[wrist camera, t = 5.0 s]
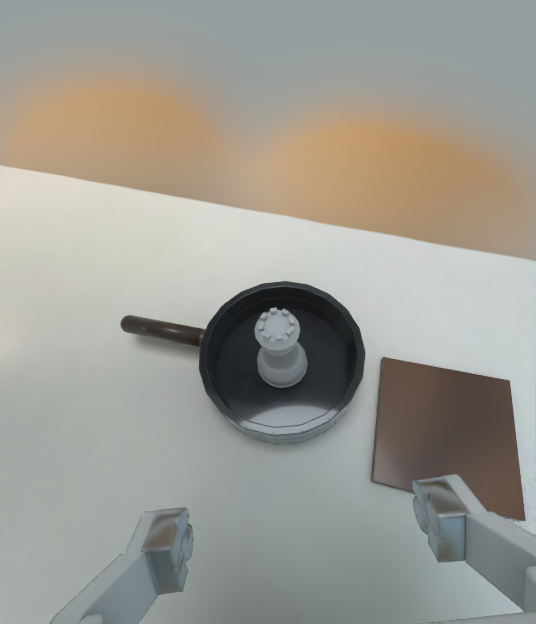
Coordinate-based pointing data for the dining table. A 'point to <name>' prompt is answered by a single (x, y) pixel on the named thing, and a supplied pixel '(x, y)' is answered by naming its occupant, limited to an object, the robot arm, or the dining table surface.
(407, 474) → the plate
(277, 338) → the rook chess piece
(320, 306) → the pan
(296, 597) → the dining table surface
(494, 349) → the dining table surface
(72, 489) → the dining table surface
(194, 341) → the pan handle
